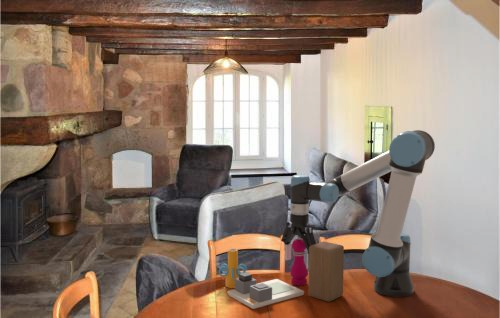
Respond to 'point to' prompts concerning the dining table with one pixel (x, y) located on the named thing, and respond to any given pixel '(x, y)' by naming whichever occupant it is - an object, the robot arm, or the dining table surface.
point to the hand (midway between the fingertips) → (298, 263)
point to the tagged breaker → (260, 286)
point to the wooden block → (326, 271)
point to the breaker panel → (263, 292)
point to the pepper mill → (299, 263)
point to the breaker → (245, 276)
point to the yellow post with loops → (232, 268)
